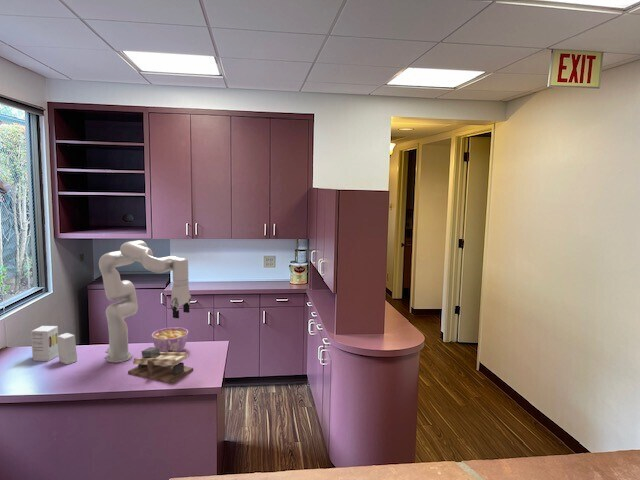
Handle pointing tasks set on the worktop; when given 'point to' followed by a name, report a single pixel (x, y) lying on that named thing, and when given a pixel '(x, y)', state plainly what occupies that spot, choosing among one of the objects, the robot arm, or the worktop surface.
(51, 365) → the worktop surface
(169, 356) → the cream curved piece
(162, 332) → the bowl of food
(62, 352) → the skincare box
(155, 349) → the block
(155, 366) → the stand
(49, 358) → the supplement box
